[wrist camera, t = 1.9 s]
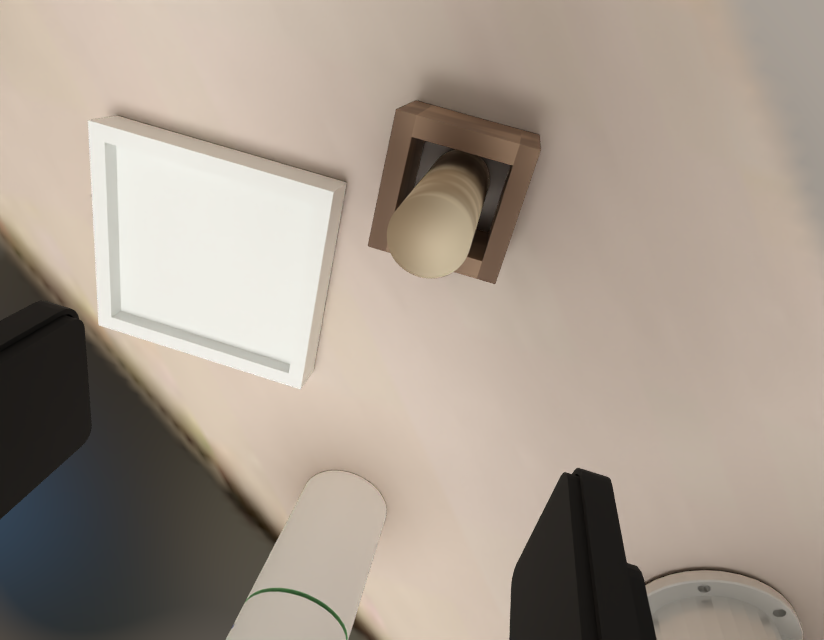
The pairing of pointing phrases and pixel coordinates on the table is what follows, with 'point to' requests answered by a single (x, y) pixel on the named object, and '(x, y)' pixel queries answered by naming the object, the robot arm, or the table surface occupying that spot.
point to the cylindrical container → (316, 564)
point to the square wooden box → (466, 136)
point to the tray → (211, 248)
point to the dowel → (440, 216)
